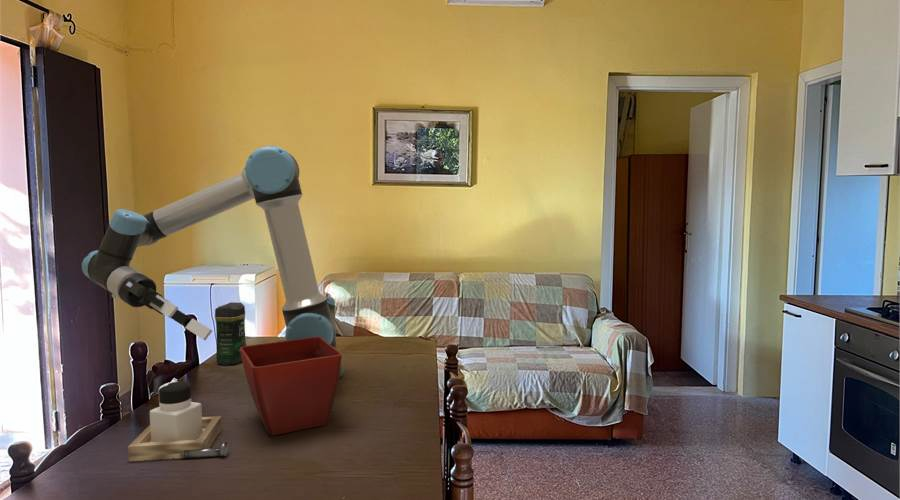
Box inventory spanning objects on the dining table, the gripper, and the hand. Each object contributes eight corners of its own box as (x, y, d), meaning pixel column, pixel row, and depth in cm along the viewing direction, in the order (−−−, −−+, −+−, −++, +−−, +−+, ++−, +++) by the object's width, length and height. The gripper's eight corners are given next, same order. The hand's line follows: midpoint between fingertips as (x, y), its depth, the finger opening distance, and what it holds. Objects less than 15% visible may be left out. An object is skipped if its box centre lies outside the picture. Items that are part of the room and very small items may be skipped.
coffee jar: (237, 366, 178) (234, 306, 177) (212, 365, 179) (209, 306, 177) (251, 357, 188) (248, 300, 186) (227, 357, 189) (224, 300, 187)
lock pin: (228, 452, 118) (227, 440, 117) (225, 458, 115) (224, 445, 115) (182, 455, 116) (182, 442, 116) (178, 461, 114) (177, 448, 114)
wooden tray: (221, 429, 130) (221, 416, 129) (203, 456, 116) (202, 442, 115) (155, 433, 128) (154, 419, 128) (128, 461, 114) (127, 446, 114)
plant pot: (255, 446, 120) (252, 366, 119) (242, 415, 137) (239, 346, 136) (345, 428, 129) (343, 354, 128) (322, 402, 146) (320, 336, 145)
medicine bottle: (203, 435, 124) (200, 380, 123) (177, 449, 117) (174, 391, 116) (177, 431, 126) (174, 377, 125) (150, 444, 120) (147, 387, 118)
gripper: (154, 320, 149) (210, 356, 140) (83, 276, 128) (144, 316, 119) (174, 296, 151) (230, 330, 143) (107, 249, 130) (169, 286, 122)
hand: (191, 324), depth 131 cm, fingers open, 13 cm apart
